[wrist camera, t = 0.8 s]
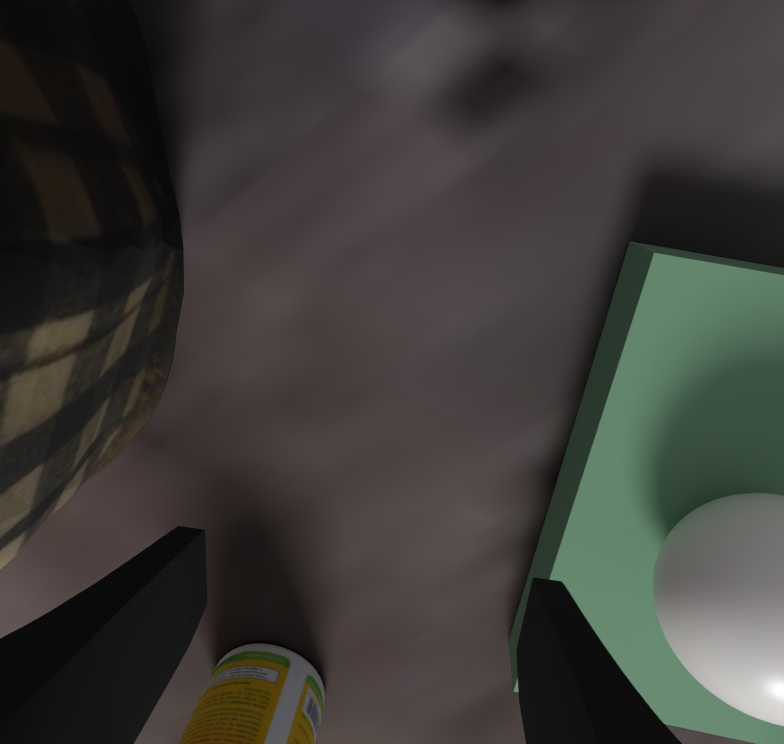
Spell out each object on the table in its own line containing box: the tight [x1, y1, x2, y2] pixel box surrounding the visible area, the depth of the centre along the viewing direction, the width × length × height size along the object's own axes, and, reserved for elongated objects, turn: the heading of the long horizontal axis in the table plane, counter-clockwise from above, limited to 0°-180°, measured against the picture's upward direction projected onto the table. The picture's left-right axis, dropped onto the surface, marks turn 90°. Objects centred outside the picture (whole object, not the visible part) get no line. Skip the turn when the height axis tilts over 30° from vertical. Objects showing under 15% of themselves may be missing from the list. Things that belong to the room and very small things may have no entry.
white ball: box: [653, 493, 784, 726], centre depth 16 cm, size 6×6×6 cm
